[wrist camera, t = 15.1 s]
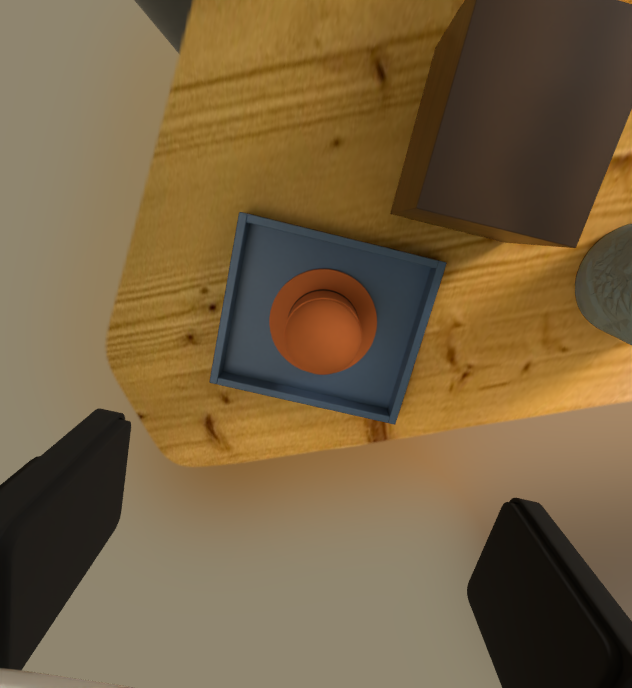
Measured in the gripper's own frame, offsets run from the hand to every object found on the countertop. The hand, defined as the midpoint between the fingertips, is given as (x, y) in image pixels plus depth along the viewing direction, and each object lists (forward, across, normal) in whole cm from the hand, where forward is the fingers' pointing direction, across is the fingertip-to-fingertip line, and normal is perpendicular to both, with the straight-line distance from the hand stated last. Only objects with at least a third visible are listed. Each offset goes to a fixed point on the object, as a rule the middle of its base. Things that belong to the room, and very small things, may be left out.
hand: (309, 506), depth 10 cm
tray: (+24, -1, +1) cm, 24 cm away
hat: (+23, -1, +1) cm, 23 cm away
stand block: (+24, -8, -14) cm, 28 cm away
